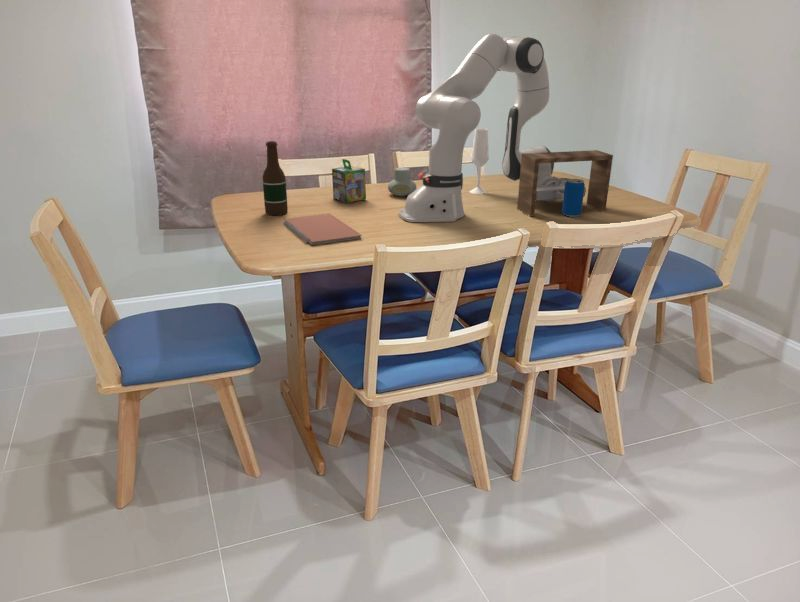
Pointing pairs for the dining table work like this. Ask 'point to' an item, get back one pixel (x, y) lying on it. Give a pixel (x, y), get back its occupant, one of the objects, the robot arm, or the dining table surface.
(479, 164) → the champagne flute
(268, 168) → the beer bottle
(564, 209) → the beverage can
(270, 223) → the dining table surface
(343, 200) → the chalk box
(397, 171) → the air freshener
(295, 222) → the notebook
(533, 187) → the walnut riser shelf
